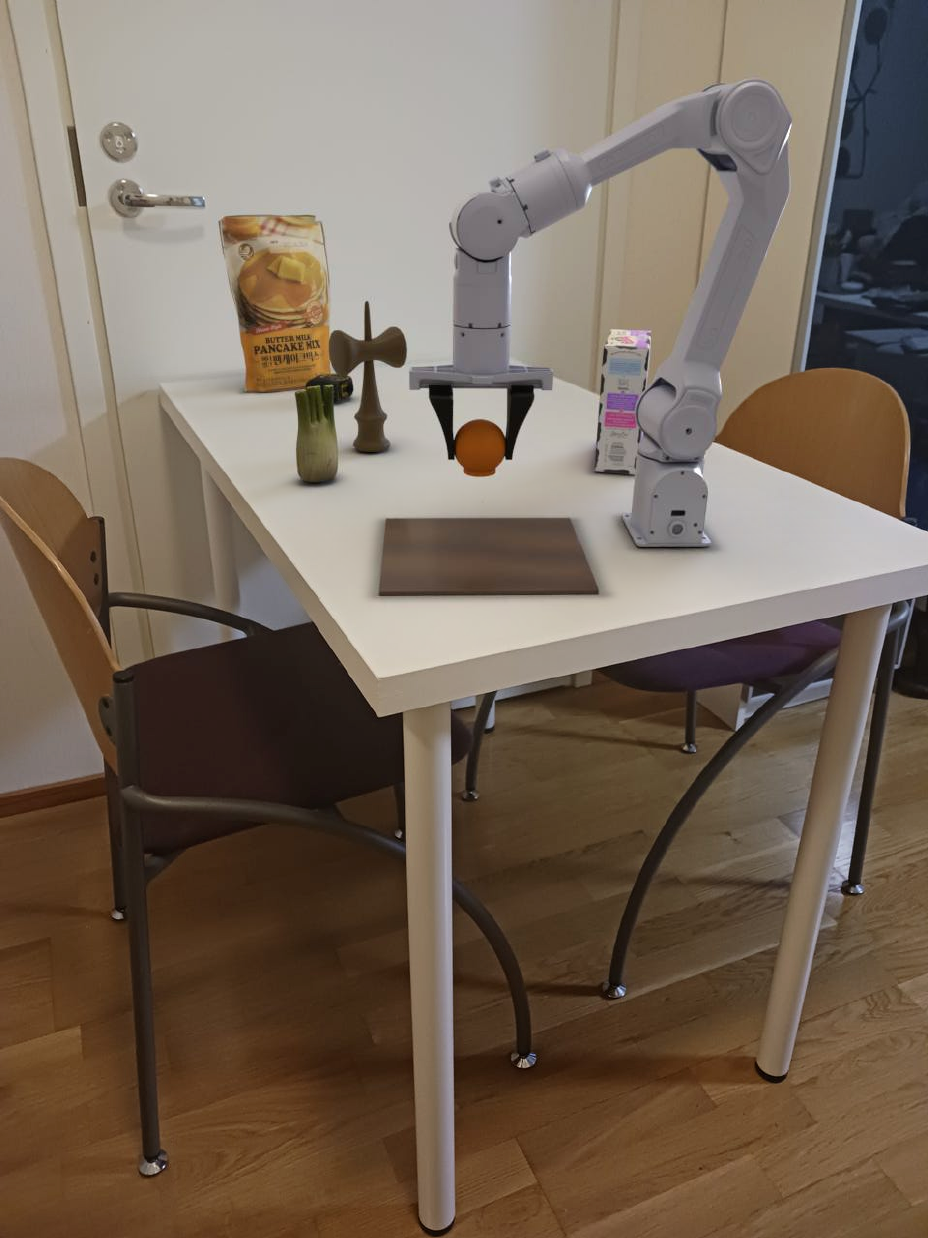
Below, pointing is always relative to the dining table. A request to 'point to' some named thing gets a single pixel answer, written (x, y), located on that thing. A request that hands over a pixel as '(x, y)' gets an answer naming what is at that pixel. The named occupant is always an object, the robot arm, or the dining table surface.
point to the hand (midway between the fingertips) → (479, 457)
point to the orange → (480, 447)
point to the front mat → (483, 557)
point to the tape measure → (334, 385)
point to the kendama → (368, 375)
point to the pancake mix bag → (279, 297)
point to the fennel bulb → (316, 434)
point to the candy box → (621, 399)
